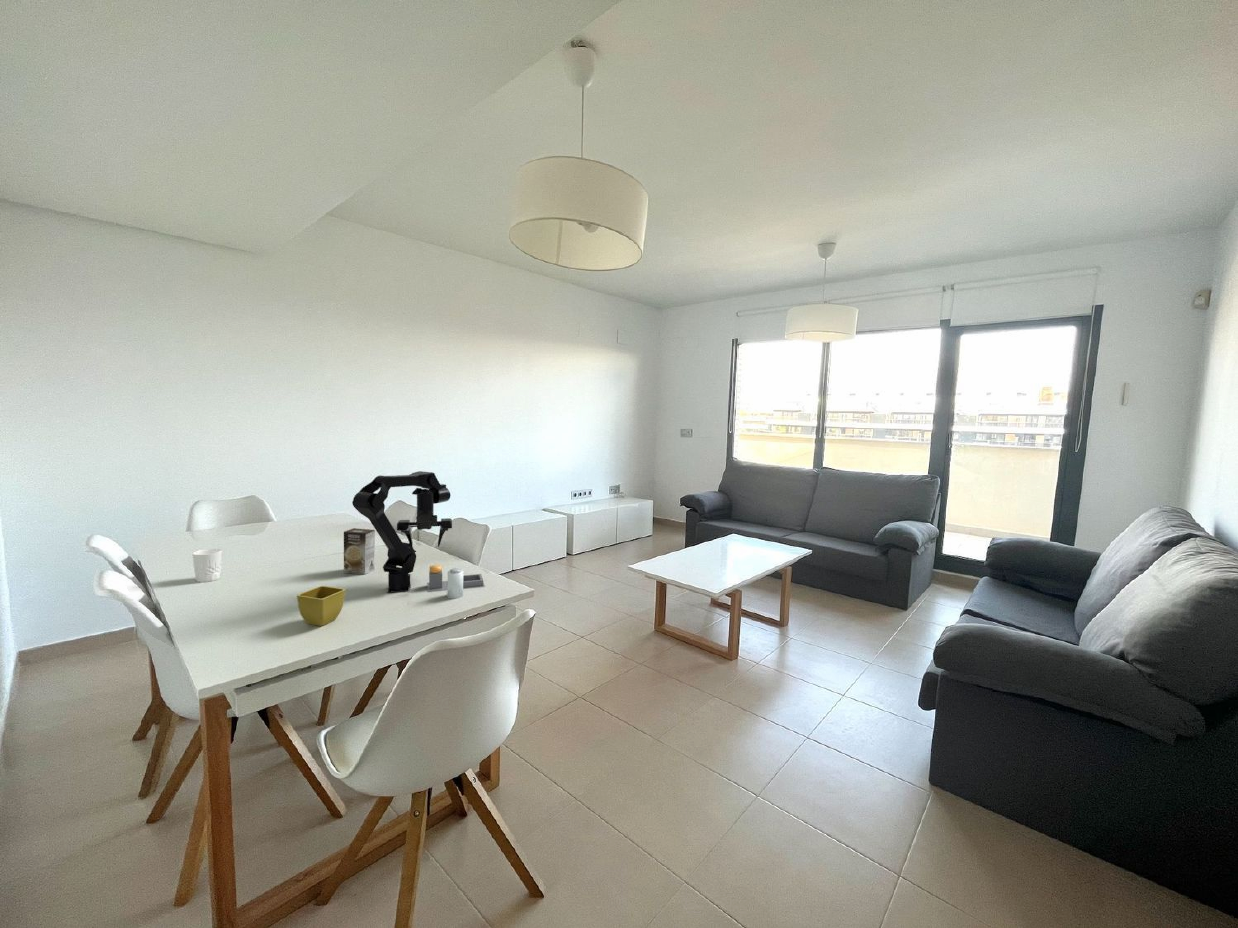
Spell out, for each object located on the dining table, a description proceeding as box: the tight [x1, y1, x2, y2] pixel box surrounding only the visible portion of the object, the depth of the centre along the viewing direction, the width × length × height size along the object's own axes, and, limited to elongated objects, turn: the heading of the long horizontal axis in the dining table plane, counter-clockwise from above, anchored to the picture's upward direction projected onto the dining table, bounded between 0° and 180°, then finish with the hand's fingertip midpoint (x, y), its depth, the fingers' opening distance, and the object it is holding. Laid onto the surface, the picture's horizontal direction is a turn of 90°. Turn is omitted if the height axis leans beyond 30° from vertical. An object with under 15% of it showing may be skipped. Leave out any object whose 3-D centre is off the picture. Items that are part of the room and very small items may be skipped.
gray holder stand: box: [426, 570, 486, 593], centre depth 171 cm, size 19×10×6 cm, turn 112°
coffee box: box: [343, 527, 376, 575], centre depth 184 cm, size 9×6×16 cm
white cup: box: [192, 548, 223, 583], centre depth 170 cm, size 8×8×10 cm
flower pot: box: [296, 585, 346, 627], centre depth 138 cm, size 9×9×9 cm
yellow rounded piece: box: [429, 564, 443, 573], centre depth 168 cm, size 4×4×6 cm
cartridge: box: [446, 568, 464, 600], centre depth 160 cm, size 5×5×9 cm
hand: (425, 547), depth 177 cm, fingers open, 9 cm apart
